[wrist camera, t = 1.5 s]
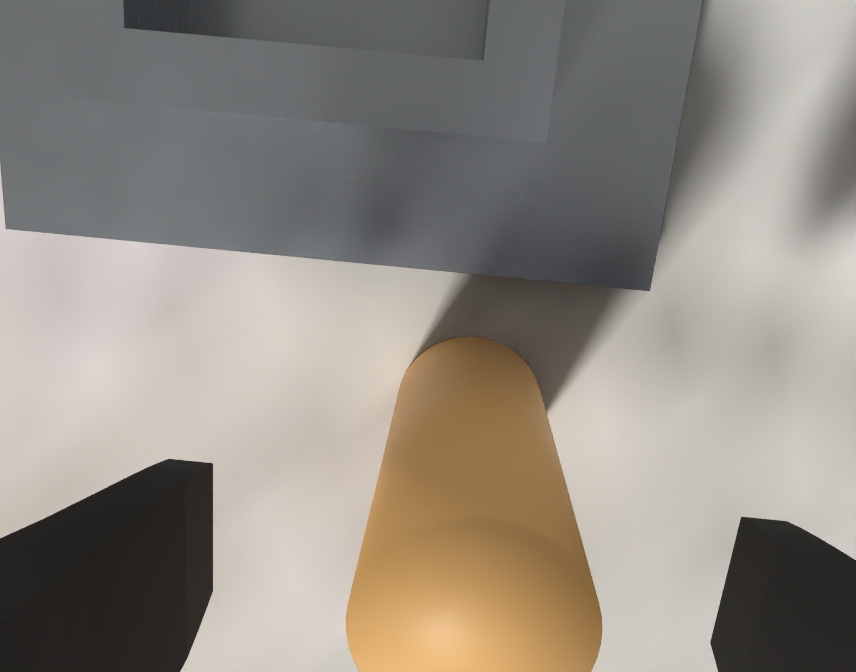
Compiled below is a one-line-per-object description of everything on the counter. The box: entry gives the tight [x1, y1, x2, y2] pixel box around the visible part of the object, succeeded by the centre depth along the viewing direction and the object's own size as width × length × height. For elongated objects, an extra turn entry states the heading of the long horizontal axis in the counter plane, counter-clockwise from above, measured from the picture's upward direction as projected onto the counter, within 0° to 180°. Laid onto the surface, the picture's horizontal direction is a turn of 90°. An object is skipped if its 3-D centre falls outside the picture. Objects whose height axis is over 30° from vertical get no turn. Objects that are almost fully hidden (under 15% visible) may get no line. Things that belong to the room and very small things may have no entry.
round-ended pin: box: [346, 336, 602, 672], centre depth 12 cm, size 3×3×7 cm
